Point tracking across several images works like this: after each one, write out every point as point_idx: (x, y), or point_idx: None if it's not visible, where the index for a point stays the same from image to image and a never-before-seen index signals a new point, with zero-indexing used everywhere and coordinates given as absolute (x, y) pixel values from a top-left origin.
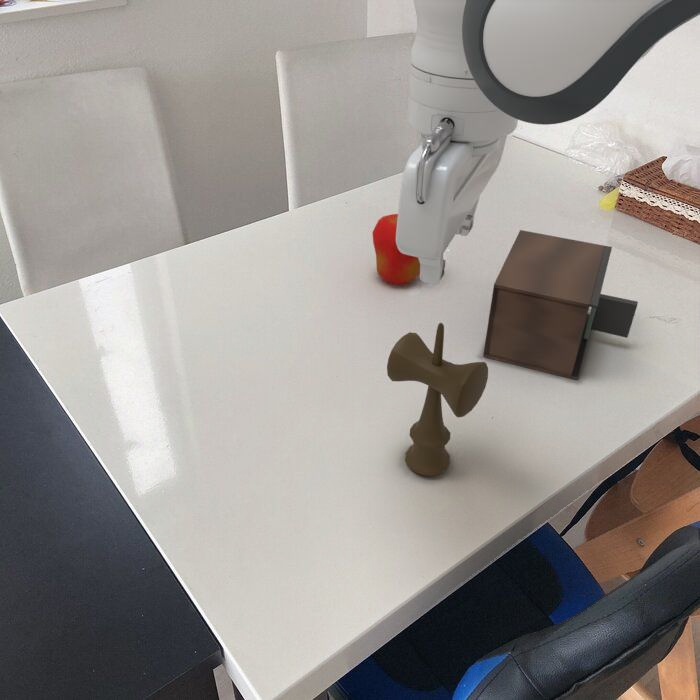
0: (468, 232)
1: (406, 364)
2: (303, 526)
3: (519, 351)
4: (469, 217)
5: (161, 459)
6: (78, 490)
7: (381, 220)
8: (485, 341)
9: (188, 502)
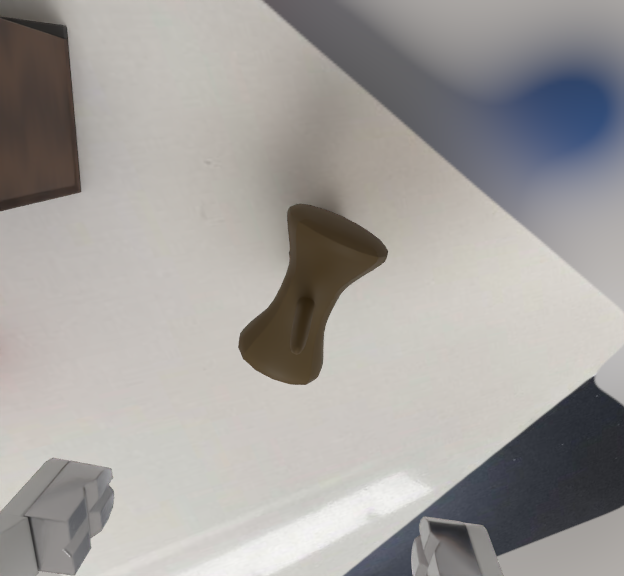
0: (100, 473)
1: (318, 350)
2: (444, 347)
3: (57, 137)
4: (45, 525)
5: (384, 488)
6: None
7: None
8: (61, 196)
9: (433, 451)
